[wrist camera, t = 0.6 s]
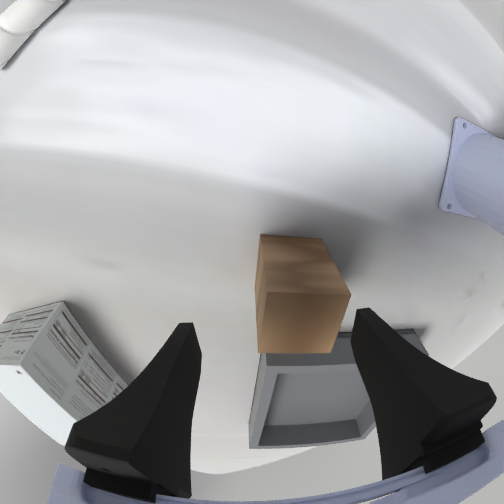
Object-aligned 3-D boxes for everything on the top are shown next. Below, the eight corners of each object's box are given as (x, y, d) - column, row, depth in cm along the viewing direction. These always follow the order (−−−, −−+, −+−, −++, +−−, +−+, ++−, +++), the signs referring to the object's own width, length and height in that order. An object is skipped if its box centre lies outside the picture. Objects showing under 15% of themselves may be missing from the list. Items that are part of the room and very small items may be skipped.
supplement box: (7, 313, 24) (-29, 361, 16) (64, 298, 23) (18, 364, 14) (77, 398, 32) (59, 446, 23) (143, 399, 30) (128, 460, 22)
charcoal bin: (413, 328, 25) (428, 354, 22) (358, 417, 33) (364, 438, 30) (263, 331, 24) (266, 365, 21) (248, 423, 32) (249, 448, 29)
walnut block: (321, 239, 20) (351, 294, 14) (310, 289, 22) (330, 352, 16) (260, 234, 20) (267, 291, 14) (254, 286, 22) (258, 352, 16)
